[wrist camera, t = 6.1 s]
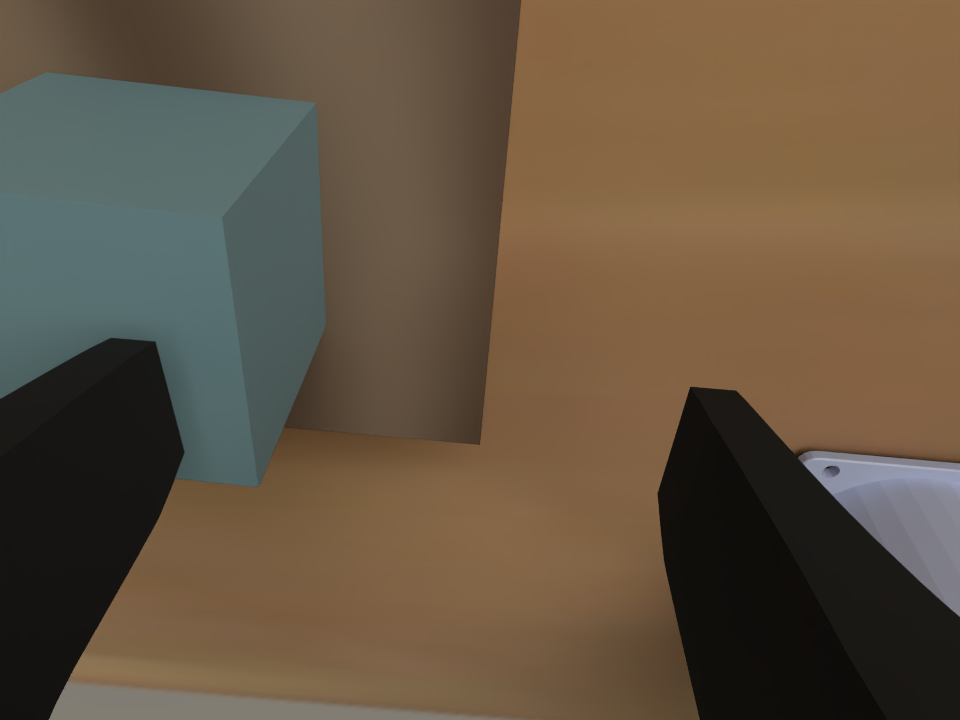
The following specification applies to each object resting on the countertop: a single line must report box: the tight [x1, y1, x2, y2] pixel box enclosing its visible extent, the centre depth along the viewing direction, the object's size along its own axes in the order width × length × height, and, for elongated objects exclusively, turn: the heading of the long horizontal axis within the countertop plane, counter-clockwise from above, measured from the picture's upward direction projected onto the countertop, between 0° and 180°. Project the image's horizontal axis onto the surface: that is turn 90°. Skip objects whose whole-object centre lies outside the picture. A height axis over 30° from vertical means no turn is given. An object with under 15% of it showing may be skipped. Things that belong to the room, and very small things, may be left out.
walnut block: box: [0, 0, 521, 445], centre depth 16 cm, size 12×12×4 cm
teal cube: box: [0, 72, 326, 487], centre depth 12 cm, size 5×5×5 cm
